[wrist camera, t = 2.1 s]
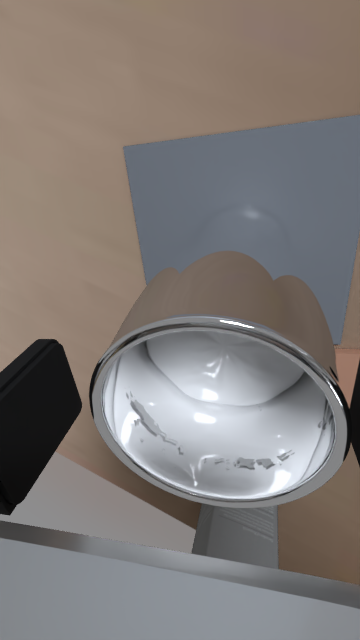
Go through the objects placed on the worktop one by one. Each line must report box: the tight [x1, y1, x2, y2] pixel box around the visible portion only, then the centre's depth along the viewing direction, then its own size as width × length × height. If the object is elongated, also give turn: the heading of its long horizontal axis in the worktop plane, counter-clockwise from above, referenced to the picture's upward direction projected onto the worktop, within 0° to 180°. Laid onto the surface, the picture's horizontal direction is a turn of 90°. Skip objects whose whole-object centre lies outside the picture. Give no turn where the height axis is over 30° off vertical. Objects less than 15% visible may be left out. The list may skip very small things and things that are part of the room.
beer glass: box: [89, 206, 352, 508], centre depth 14 cm, size 7×7×15 cm
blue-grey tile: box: [123, 115, 360, 345], centre depth 21 cm, size 14×14×1 cm
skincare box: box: [191, 503, 279, 569], centre depth 27 cm, size 8×7×16 cm
